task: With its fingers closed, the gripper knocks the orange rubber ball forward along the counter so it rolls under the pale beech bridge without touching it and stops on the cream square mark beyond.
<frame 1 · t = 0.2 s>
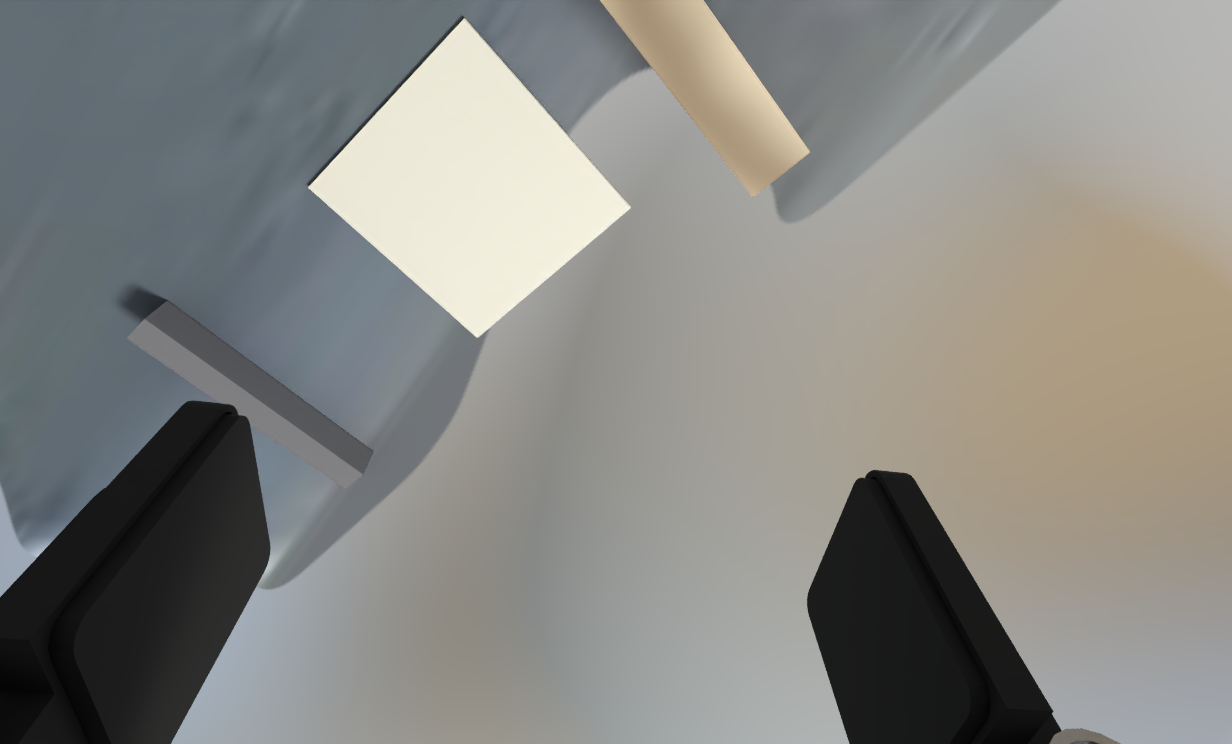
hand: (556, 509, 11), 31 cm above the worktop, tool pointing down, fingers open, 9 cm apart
bridge: (660, 17, 35), on the worktop
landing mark: (472, 196, 39), on the worktop
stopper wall: (269, 389, 46), on the worktop
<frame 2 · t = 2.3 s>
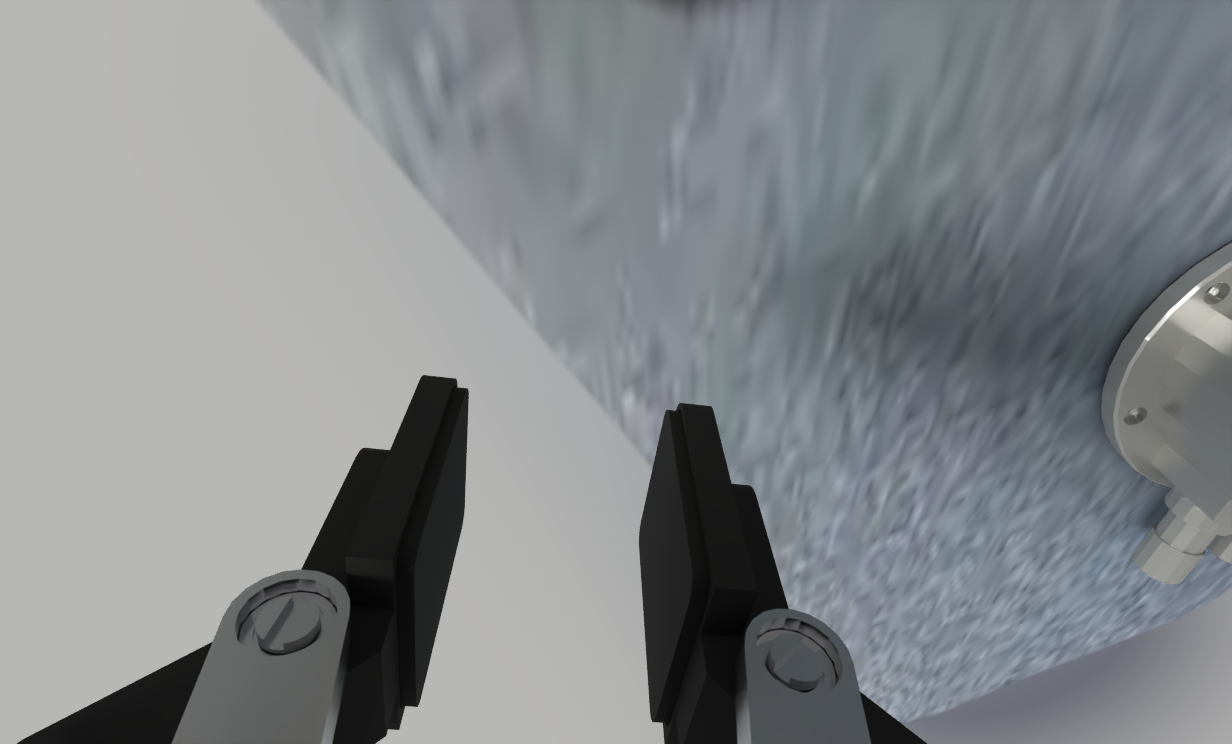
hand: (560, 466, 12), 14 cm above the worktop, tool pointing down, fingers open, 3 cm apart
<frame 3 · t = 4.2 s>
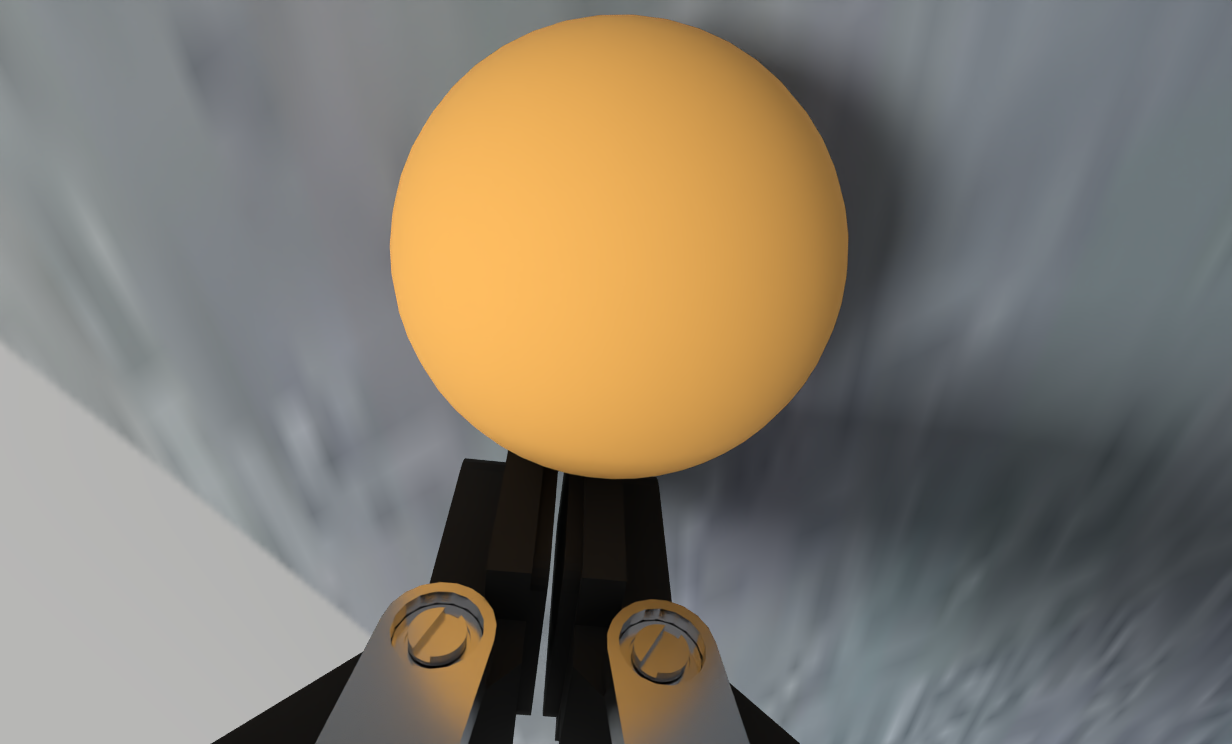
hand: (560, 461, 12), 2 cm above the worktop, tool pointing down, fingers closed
ball: (618, 259, 9), on the worktop, touching gripper
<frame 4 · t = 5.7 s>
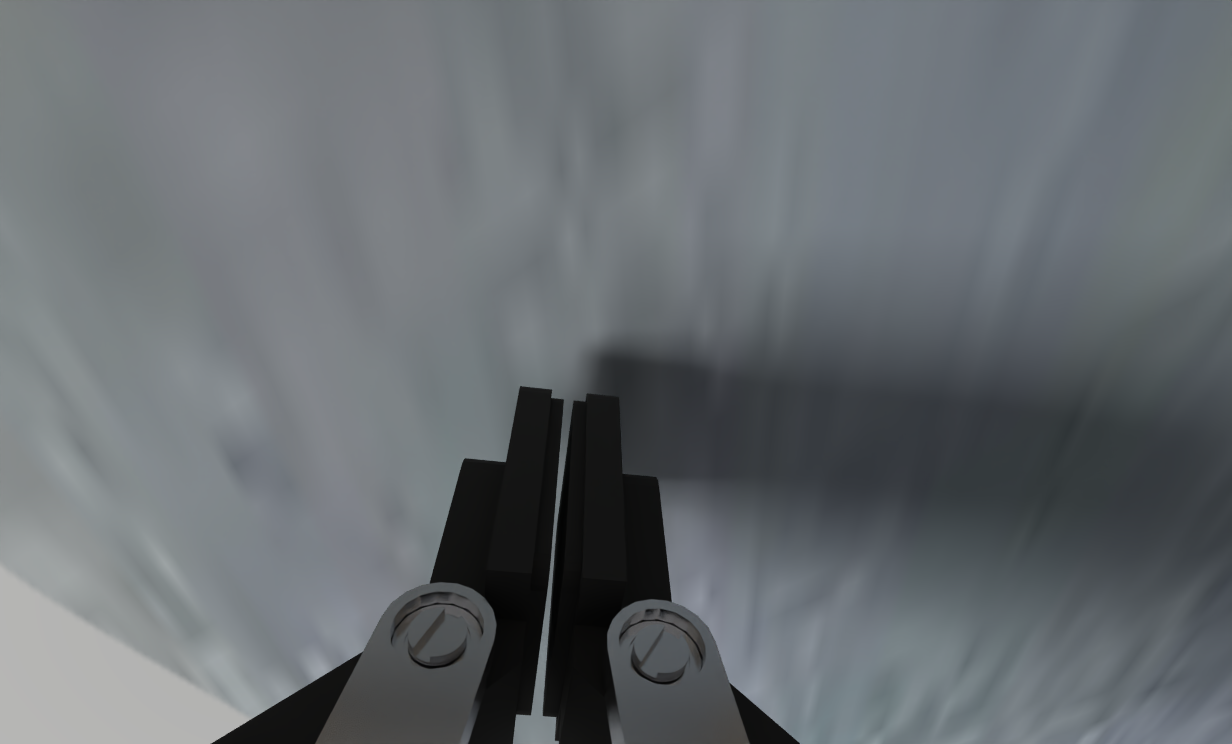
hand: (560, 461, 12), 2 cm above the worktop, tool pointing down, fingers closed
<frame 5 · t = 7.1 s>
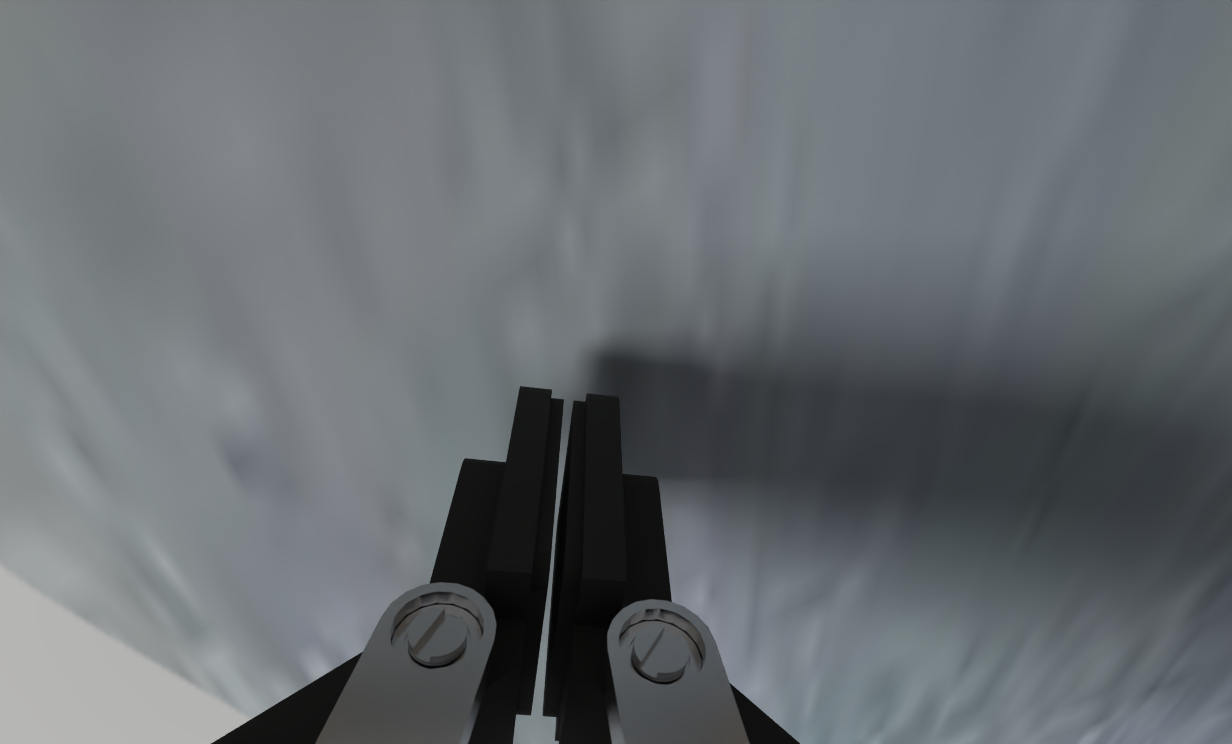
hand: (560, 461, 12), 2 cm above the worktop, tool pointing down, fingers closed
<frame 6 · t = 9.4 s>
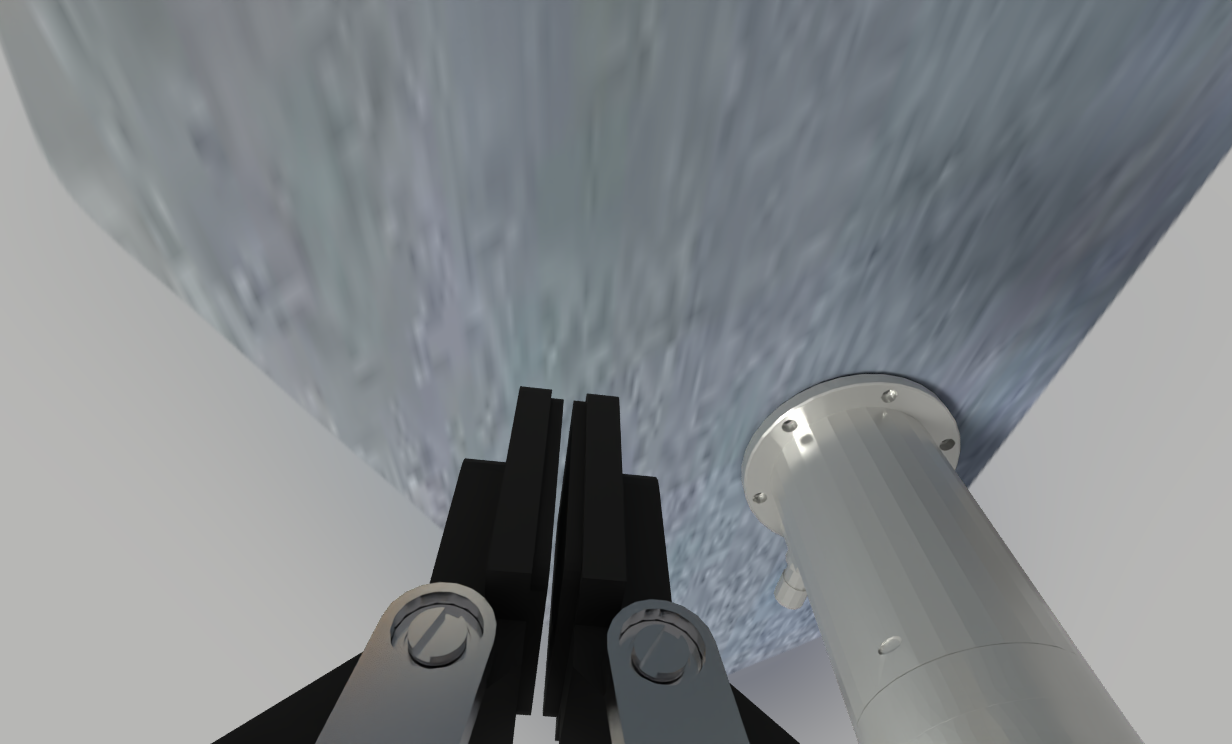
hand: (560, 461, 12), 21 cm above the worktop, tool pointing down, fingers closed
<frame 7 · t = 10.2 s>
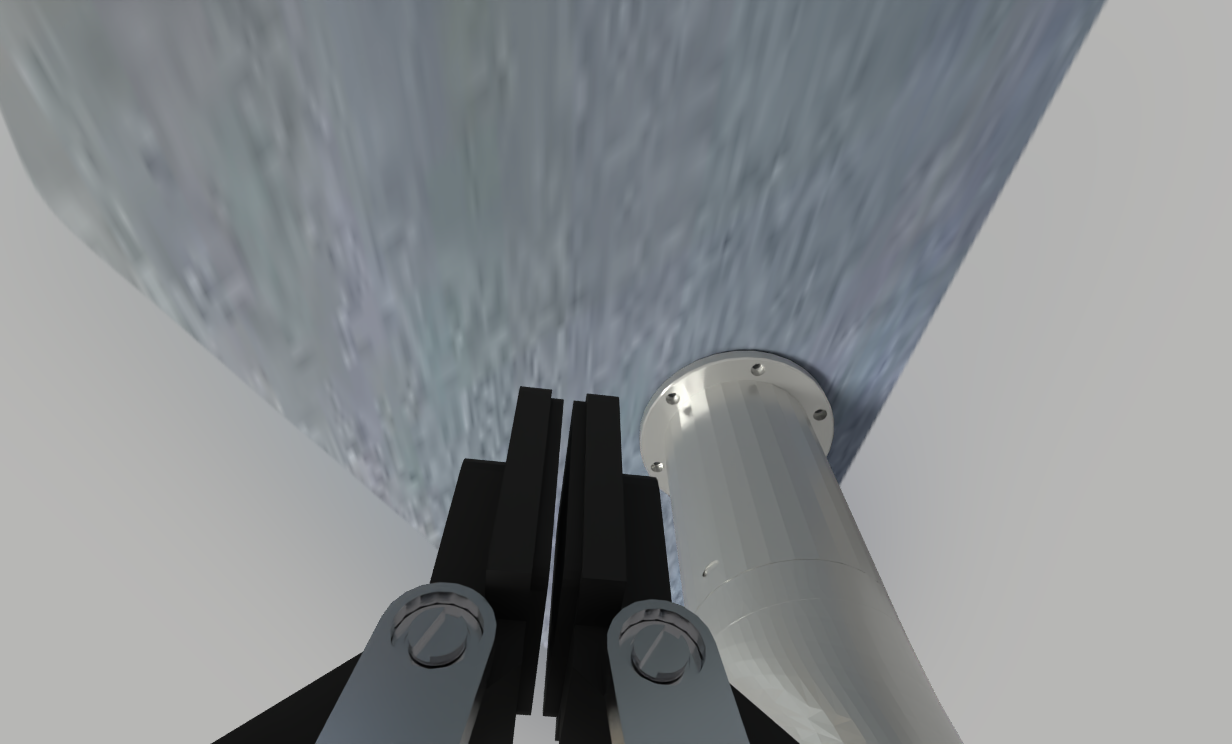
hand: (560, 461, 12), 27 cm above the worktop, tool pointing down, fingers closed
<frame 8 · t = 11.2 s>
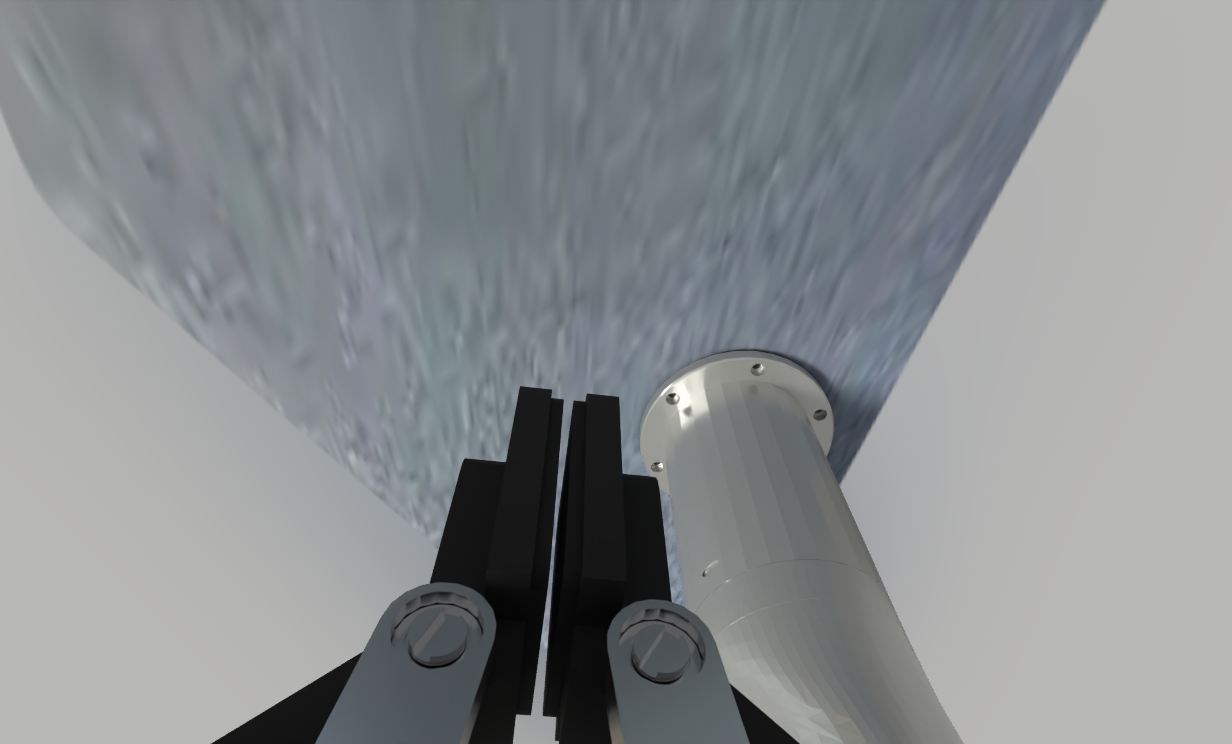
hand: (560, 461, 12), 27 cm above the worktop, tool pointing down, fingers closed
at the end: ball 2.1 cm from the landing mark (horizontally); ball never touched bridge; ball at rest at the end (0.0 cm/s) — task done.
